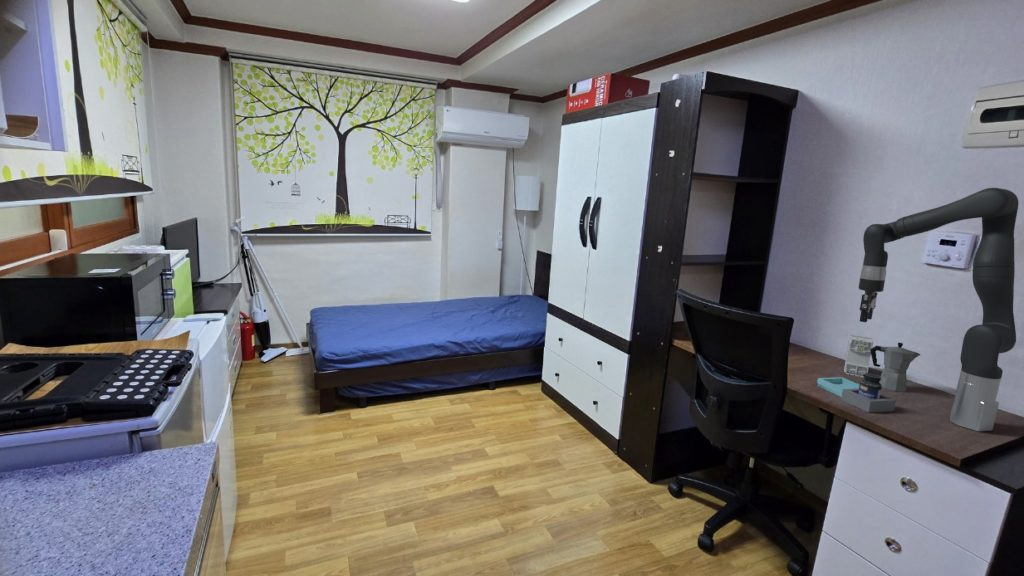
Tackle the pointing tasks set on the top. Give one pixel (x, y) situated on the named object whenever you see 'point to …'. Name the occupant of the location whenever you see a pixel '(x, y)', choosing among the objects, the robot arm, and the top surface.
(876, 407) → the holder
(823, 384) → the tray
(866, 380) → the pill bottle
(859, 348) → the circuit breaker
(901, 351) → the coffeepot
